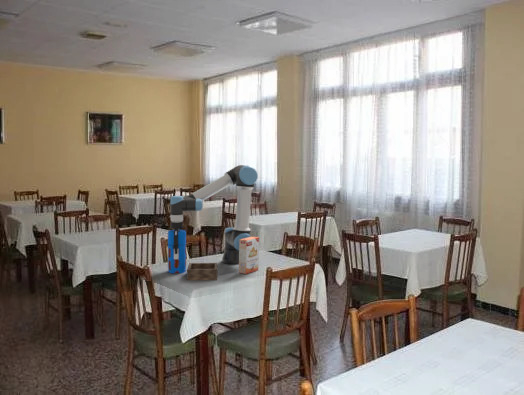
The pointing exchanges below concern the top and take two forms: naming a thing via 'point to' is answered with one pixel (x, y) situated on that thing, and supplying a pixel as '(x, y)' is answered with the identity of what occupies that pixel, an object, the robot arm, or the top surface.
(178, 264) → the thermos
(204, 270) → the open wooden box
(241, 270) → the cracker box
